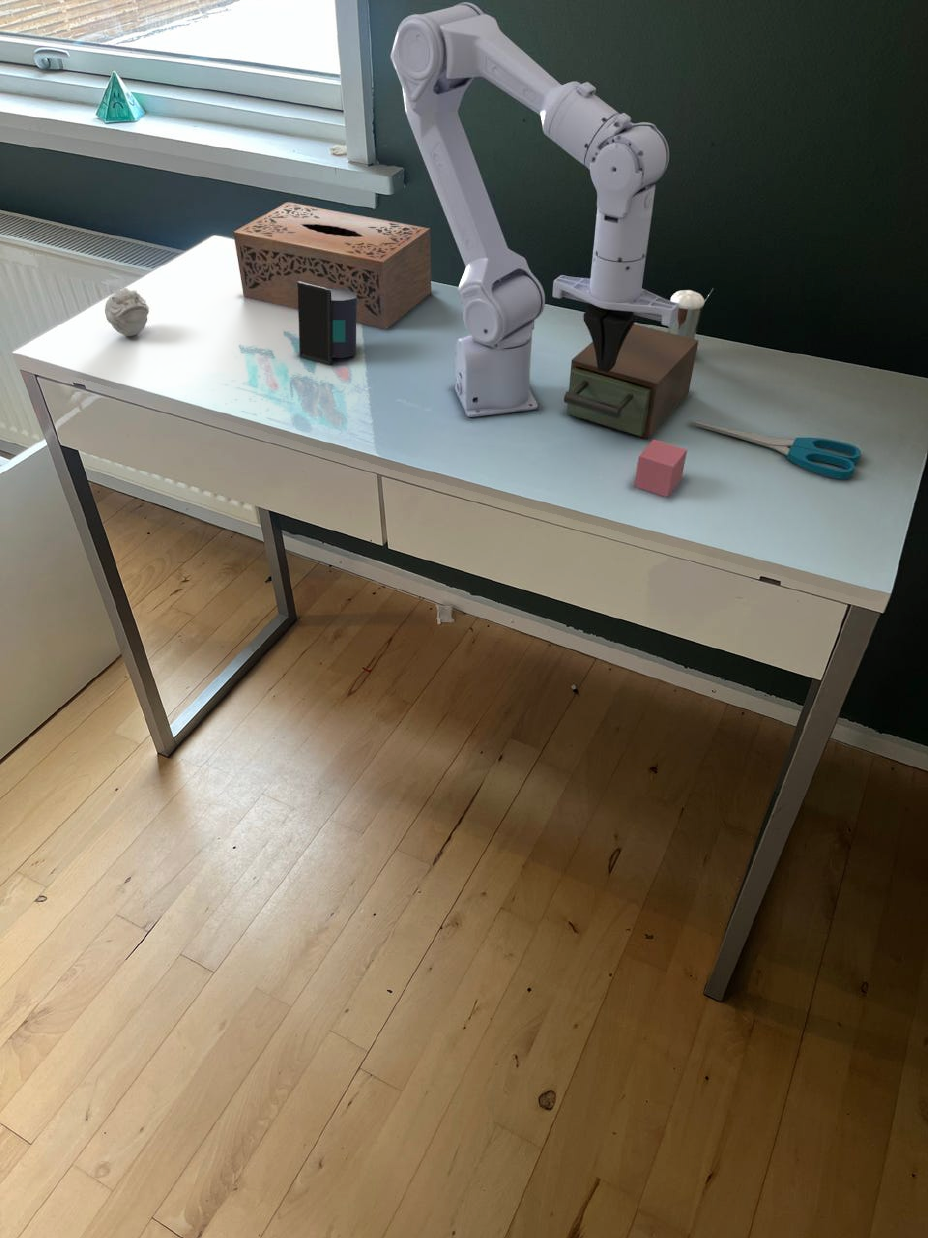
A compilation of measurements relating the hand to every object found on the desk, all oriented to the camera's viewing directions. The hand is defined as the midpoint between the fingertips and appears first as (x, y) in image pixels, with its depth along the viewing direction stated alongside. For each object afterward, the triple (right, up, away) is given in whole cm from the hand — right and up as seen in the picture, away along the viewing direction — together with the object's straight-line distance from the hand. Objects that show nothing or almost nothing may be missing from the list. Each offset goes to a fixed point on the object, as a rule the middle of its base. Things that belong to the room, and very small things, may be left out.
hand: (606, 367), depth 109 cm
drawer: (+3, -3, +9) cm, 10 cm away
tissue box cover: (-37, +21, +37) cm, 56 cm away
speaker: (-35, +8, +23) cm, 43 cm away
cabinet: (+5, -1, +12) cm, 13 cm away
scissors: (+21, -9, +5) cm, 23 cm away
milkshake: (+14, +8, +22) cm, 27 cm away
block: (+6, -14, -1) cm, 15 cm away
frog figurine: (-65, +12, +26) cm, 72 cm away
